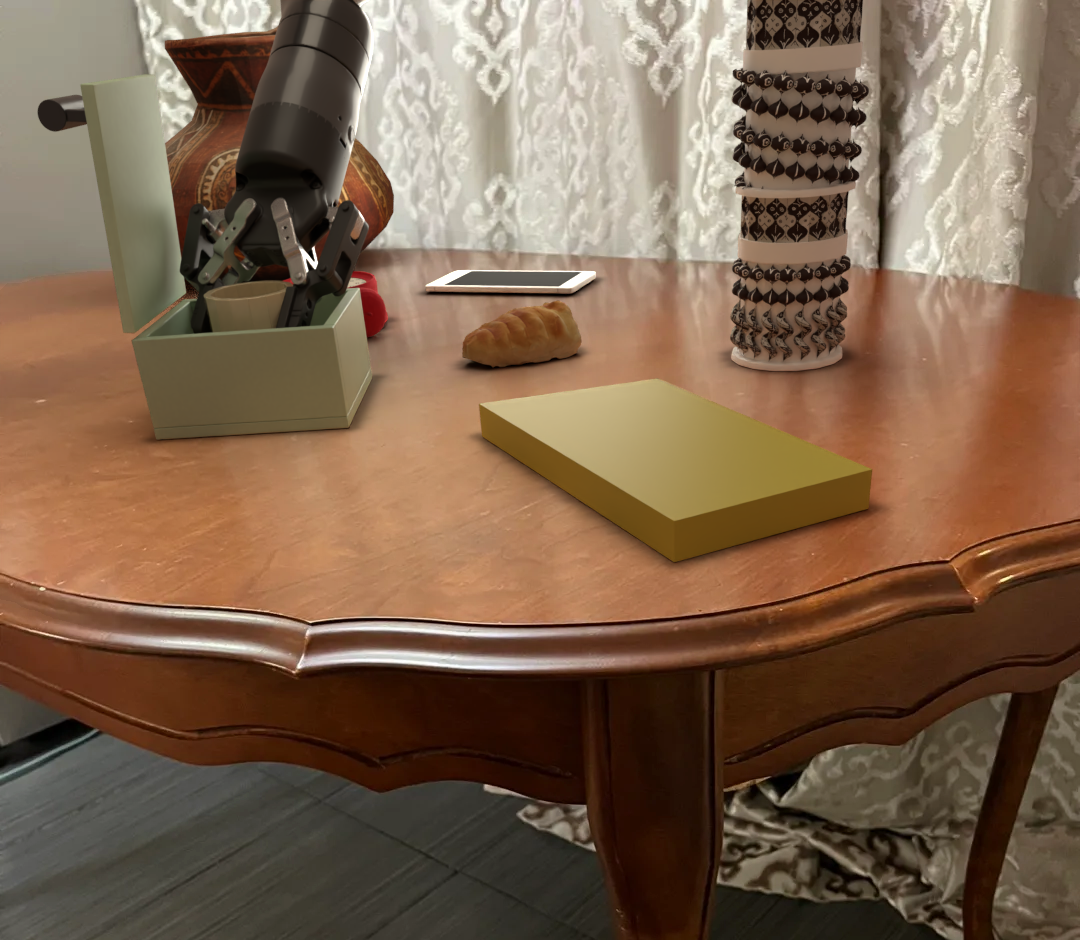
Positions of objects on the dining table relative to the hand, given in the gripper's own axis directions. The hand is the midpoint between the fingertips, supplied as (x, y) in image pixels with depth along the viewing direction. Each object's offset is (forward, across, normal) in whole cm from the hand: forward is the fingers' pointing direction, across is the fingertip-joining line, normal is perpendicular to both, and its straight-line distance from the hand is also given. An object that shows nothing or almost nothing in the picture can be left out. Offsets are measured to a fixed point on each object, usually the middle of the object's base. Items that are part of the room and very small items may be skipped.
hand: (245, 341), depth 79 cm
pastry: (-9, +14, +16) cm, 23 cm away
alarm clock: (-13, -7, +20) cm, 25 cm away
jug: (-32, -31, +40) cm, 60 cm away
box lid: (-6, -5, -7) cm, 11 cm away
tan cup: (+2, 0, +4) cm, 5 cm away
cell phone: (-27, +3, +34) cm, 44 cm away
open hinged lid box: (+3, 0, +5) cm, 5 cm away
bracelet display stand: (-10, +35, +18) cm, 40 cm away
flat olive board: (+8, +32, 0) cm, 33 cm away
